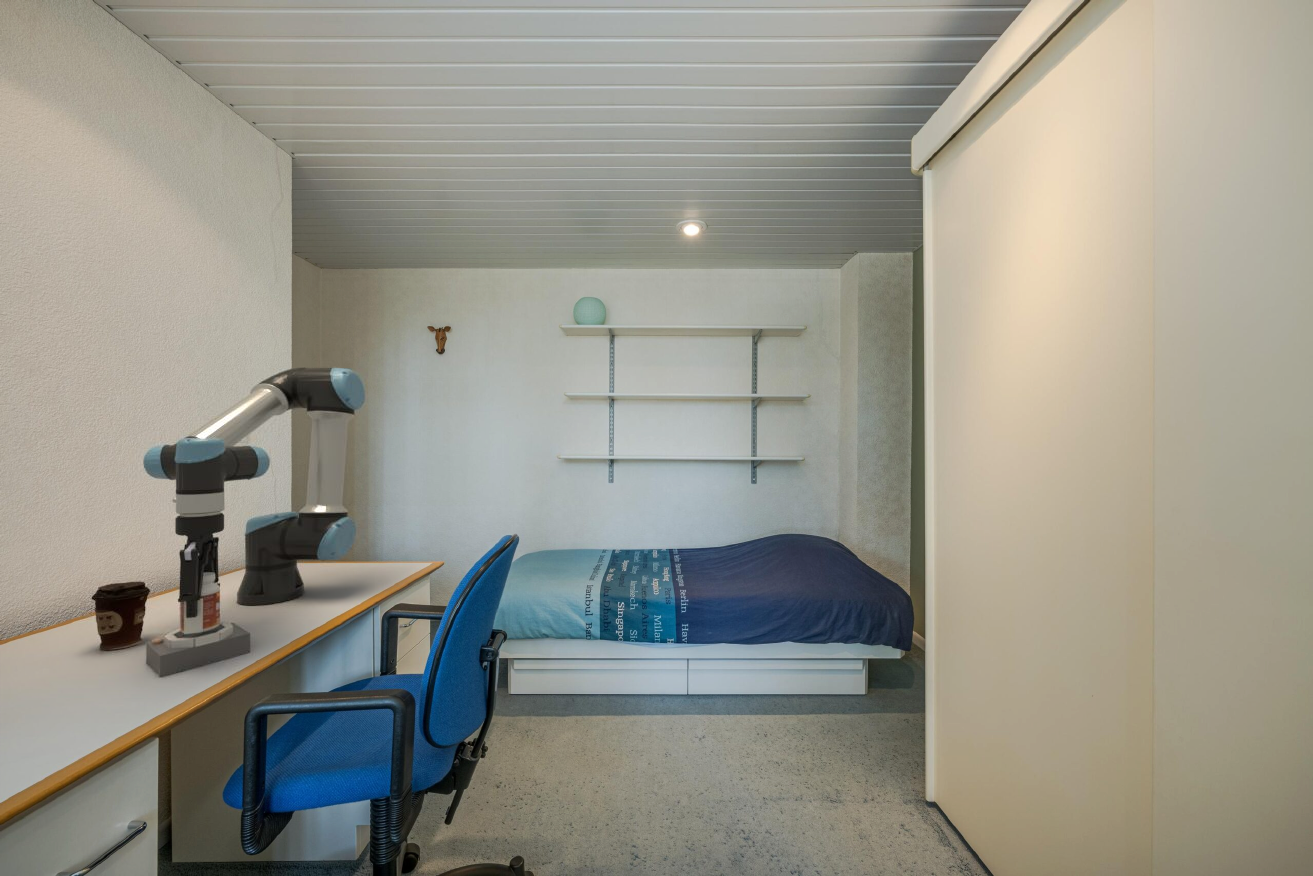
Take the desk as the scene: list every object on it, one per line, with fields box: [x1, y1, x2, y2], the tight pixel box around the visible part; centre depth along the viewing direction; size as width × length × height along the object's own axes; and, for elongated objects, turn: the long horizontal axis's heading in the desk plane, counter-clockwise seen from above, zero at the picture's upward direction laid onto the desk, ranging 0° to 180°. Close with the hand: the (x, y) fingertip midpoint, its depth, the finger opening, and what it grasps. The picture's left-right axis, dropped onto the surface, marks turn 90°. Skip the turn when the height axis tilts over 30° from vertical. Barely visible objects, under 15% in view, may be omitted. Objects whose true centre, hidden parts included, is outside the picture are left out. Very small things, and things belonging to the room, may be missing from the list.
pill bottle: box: [179, 572, 221, 634], centre depth 107 cm, size 6×6×11 cm
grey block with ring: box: [145, 621, 251, 678], centre depth 107 cm, size 14×10×6 cm
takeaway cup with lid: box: [91, 581, 151, 651], centre depth 113 cm, size 9×8×13 cm
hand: (199, 626), depth 107 cm, fingers open, 6 cm apart
